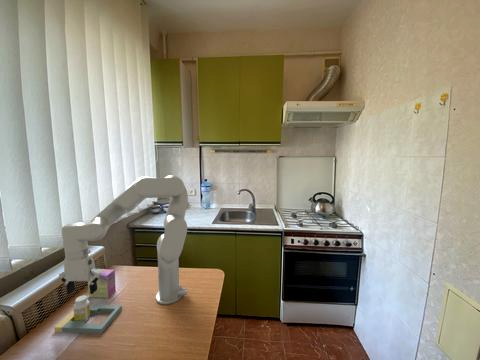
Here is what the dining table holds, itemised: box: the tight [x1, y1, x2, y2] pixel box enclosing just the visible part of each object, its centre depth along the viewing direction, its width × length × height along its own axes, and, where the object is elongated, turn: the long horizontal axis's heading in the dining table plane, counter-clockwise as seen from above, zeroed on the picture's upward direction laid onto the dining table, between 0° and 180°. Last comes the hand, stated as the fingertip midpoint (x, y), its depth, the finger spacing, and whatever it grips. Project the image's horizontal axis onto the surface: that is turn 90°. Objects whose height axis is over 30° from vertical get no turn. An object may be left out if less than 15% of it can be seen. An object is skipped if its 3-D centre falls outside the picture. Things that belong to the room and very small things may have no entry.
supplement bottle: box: [73, 294, 91, 322], centre depth 87 cm, size 5×5×10 cm
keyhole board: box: [53, 303, 123, 335], centre depth 88 cm, size 19×13×2 cm
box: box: [87, 268, 117, 299], centre depth 104 cm, size 10×6×12 cm, turn 84°
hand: (82, 291), depth 87 cm, fingers open, 9 cm apart
